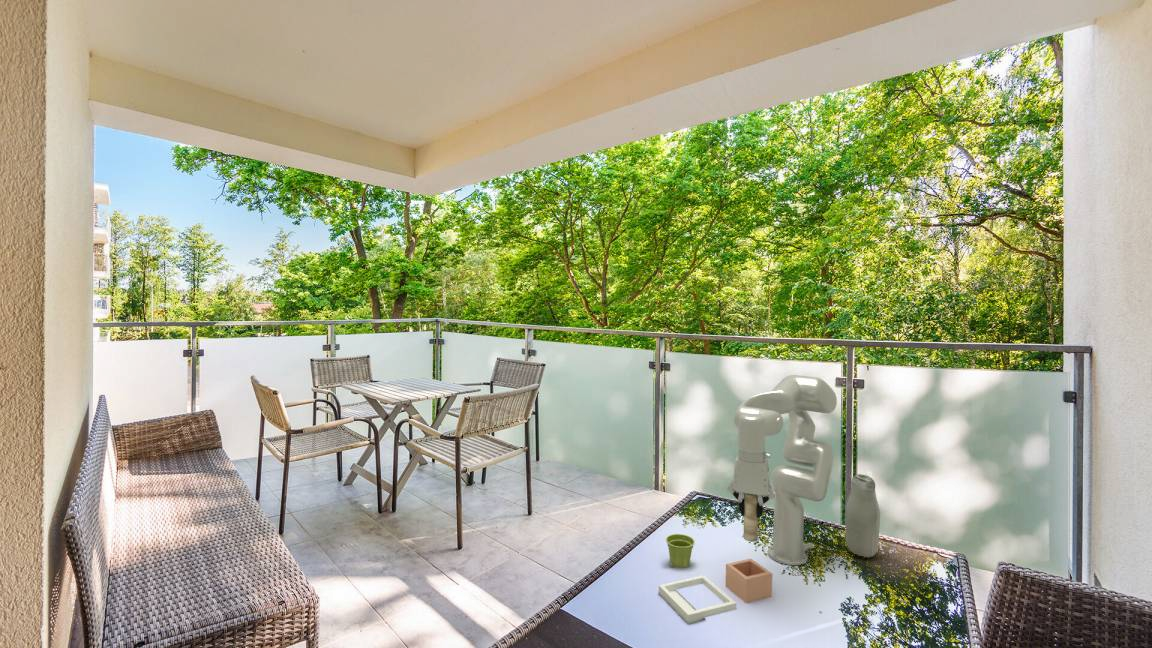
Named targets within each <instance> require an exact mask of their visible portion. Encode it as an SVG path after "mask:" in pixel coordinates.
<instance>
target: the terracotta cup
mask: <svg viewBox="0 0 1152 648" xmlns="http://www.w3.org/2000/svg"><path fill="white" fill-rule="evenodd" d="M725 588H727V589H728V590H729V591H730V592H731V593H733V594H734V595H735V596H737V597H738V598H739V599H740V600H741V601H742V602H744V604H747V603H751V602H755V601H760V600H763V599H767V598H772V596H773V595H772V594H773V573H772V572H771V571H770V570H768V569H767V568H765V567H763V565H761V564H759V563H758V562H757V561H756V560H754V559H752V558H748V559H742V560H739V561H734V562H729V563H725Z"/></svg>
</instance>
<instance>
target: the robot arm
mask: <svg viewBox="0 0 1152 648" xmlns="http://www.w3.org/2000/svg"><path fill="white" fill-rule="evenodd" d="M836 395H837V394H836V392H835V391H834V389H833V388H832V387H831V386H830V385H829V384H828V383H827V382H826V381H825V380H824V379H822V378H820V377H816V376H809V375H808V376H806V375H798V374H793V375H792V374H791V375H787V376H785V377H784V378H783V379H781V381H779V383H778V384H777V385H776V386H774V388H772V390H770V391H767V392H763V393H760V394H755V395H752V396H750V397H748V398H745V399H744V400H743V402H742V403H741V404H739V405H738V407H737V408H736V410H735V413H734V415H733V422H734V425H735V426H736V428H737V429H738V430H737V431H738V435H737V437H738V443H737V446H738V447H737V448H738V449H737V454H738V455H737V456H736V457H735V461H734V466H733V467H734V469H733V478H732V481H731V482H730V484H729V485H727V488H726V491H728V492H729V493H730V494H731V495H732V496H733V497H734V498H735V499H736V500H737V502H738V512H740V516H741V517H744V493H745V494H752V495H757V496H758V505H757V518H758V520H759V519H760V518H761V516H763V512H764V511H763V510H764V504H766V503H767V502H769V501H770V500H772V499H773V529H772V530H773V531H772V532H773V538H772V539H773V540H772V546H770V547H769V548H768V550H767V554H768V556H769V557H770V558H771V559H772V560H773V561H776V562H777V563H780V564H782V565H787V566H788V565H789V566H802V565H804V564H806V563H807V562H808V555H807V553H806V551H807V550H811V549H813V548H814V544H813V543H812V542H808V543H805V541H804V521H805V519H804V518H805V517H804V515H805V514H804V513H805V509H804V508H805V507H804V505H803V503H802V500H801V499H805V500H809V501H813V502H822V501H823V500H824V499H825V498H826V495H827V492H828V489H829V483H830V480H831V474H832V469H833V463H834V455H835V454H834V453H835V452H834V449H833V446H832V445H831V444H830V443H829V442H827V441H823V440H819V439H814V436H815V431H816V425H815V422H814V420H813V419H812V417H811V416H810V415H809V413H808V412H813V413H821V414H831V413H833V412H834V411H835V409H836V408H837V405H838V399H837V396H836ZM787 414H788V418H789V424H788V428H787V433H786V438H785V442H784V445H783V451H782V453H783V454H782V456H783V458H784V459H785V461H786V462H788V463H791V464H794V465H798V466H803V467H808V468H813V469H814V470H810V469H806V468H802V467H797V466H793V465H788V464H781V465H777V466H775V467H774V469H773V470H772V474H771V482H770V467H769V462H768V460H767V459H770V458H771V453H768V452H767V451H766V437H773V436H776V435H778V434H779V433H780V432H781V431H782V429H783V428H784V418H783V415H787ZM770 483H772V486H771V484H770ZM800 498H801V499H800ZM806 561H807V562H806ZM805 562H806V563H805ZM801 564H802V565H801Z"/></svg>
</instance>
